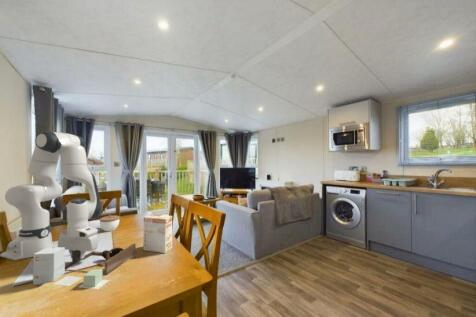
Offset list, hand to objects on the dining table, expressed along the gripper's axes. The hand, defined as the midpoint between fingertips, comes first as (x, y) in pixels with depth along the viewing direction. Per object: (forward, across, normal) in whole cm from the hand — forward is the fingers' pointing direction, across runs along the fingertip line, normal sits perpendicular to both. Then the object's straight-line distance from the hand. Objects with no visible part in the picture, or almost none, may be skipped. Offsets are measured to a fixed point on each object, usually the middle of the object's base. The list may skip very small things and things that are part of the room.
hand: (77, 258), depth 101 cm
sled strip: (+2, +12, 0) cm, 13 cm away
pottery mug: (+2, +18, +2) cm, 19 cm away
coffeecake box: (+2, +33, +20) cm, 38 cm away
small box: (+2, +2, -15) cm, 15 cm away
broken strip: (+2, +18, -16) cm, 25 cm away
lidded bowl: (+2, -20, +45) cm, 49 cm away
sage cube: (+1, +24, -16) cm, 29 cm away
